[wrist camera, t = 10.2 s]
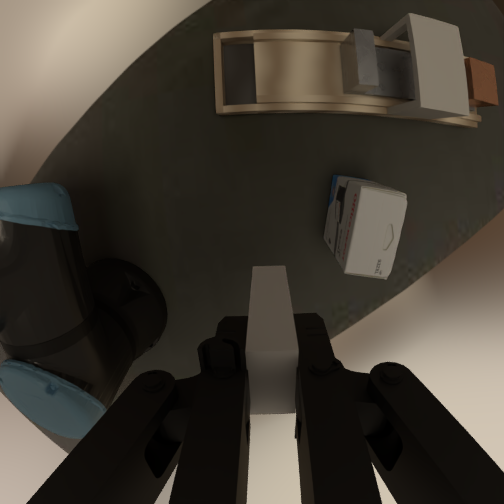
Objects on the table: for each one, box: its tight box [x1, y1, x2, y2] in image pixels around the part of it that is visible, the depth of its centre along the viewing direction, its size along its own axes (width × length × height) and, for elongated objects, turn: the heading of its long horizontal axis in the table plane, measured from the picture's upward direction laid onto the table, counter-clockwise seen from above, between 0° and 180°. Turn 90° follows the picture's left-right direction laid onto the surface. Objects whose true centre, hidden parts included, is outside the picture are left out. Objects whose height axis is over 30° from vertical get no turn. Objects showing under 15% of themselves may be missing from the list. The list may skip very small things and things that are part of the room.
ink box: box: [323, 175, 407, 279], centre depth 32 cm, size 8×5×12 cm, turn 173°
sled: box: [340, 29, 498, 112], centre depth 26 cm, size 18×6×6 cm, turn 93°
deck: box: [213, 30, 481, 128], centre depth 30 cm, size 34×10×4 cm, turn 93°
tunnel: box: [380, 13, 469, 119], centre depth 25 cm, size 6×10×8 cm, turn 3°
